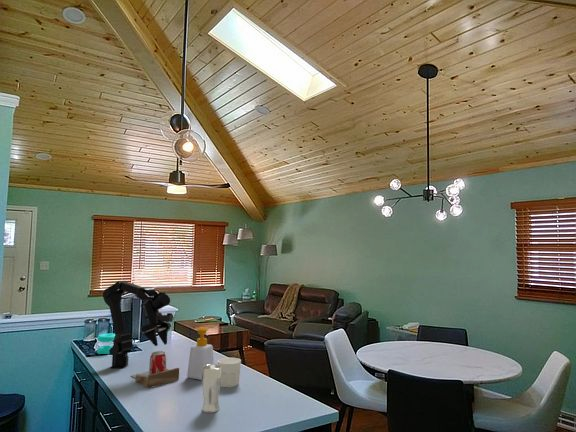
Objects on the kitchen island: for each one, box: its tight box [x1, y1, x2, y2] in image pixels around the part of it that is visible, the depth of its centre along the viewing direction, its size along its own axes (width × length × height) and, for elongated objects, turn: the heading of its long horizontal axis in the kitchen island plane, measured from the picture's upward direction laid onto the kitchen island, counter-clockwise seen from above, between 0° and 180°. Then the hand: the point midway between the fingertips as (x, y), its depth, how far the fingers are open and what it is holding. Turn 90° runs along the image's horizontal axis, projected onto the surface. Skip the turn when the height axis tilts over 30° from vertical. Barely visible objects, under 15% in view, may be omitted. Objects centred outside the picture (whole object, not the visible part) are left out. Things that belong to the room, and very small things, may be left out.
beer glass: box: [201, 363, 221, 414], centre depth 144 cm, size 7×7×15 cm
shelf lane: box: [135, 367, 180, 389], centre depth 175 cm, size 11×14×5 cm
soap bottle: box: [186, 326, 215, 381], centre depth 184 cm, size 10×14×22 cm
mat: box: [130, 371, 149, 379], centre depth 181 cm, size 9×9×1 cm
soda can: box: [148, 350, 167, 375], centre depth 175 cm, size 7×7×12 cm
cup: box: [217, 357, 242, 388], centre depth 172 cm, size 10×10×10 cm
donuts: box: [96, 332, 115, 355], centre depth 222 cm, size 10×10×10 cm
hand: (161, 345), depth 184 cm, fingers open, 9 cm apart
